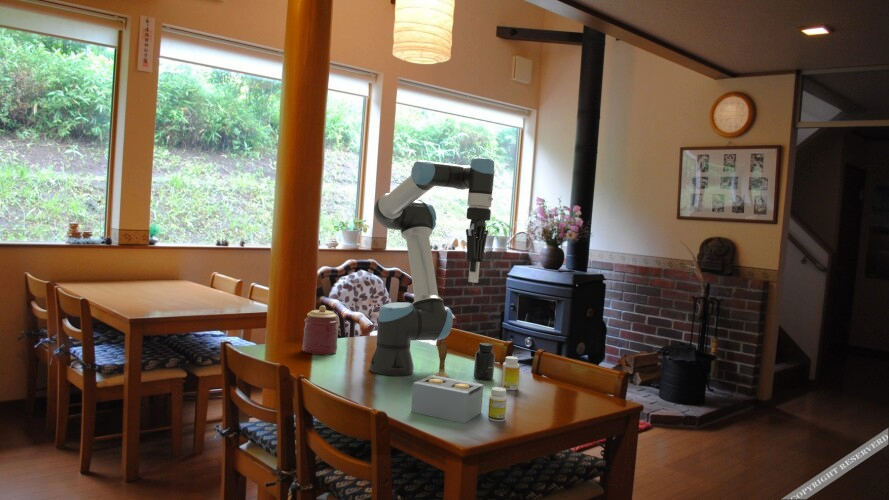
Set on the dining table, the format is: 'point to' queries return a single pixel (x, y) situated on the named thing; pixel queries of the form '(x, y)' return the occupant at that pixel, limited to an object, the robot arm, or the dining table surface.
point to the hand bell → (442, 360)
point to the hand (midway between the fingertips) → (473, 282)
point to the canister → (320, 332)
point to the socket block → (447, 399)
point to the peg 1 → (436, 381)
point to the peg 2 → (462, 386)
